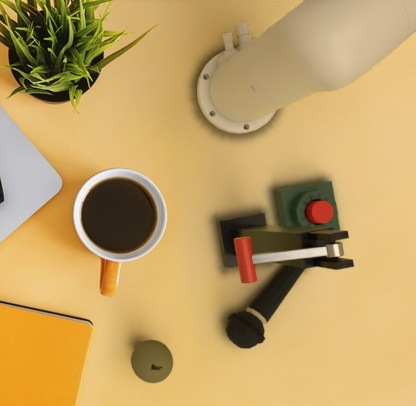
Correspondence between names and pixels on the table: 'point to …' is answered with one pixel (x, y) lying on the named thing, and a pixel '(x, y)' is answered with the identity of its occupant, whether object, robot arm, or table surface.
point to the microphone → (261, 310)
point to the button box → (304, 204)
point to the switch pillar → (279, 241)
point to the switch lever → (277, 256)
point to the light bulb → (151, 361)
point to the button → (319, 212)
